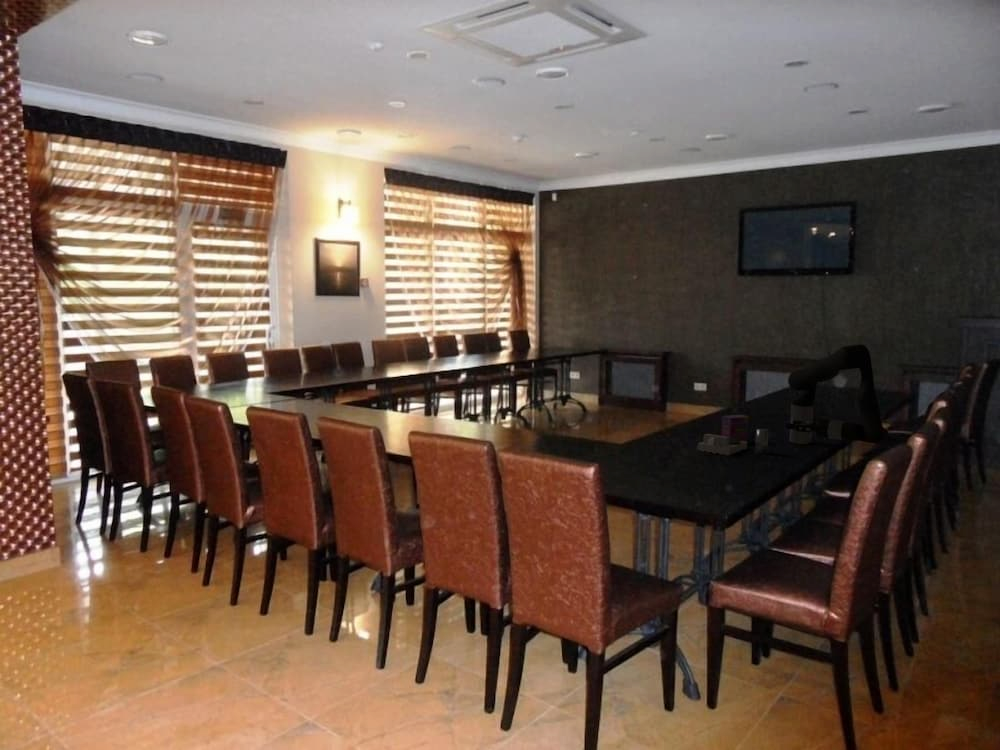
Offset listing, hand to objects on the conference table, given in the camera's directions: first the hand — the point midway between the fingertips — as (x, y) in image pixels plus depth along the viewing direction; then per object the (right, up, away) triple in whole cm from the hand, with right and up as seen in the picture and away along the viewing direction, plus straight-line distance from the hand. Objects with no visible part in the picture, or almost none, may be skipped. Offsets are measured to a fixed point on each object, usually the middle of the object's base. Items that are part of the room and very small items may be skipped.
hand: (789, 424), depth 296 cm
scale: (-23, -12, +15) cm, 30 cm away
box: (-13, -10, +32) cm, 36 cm away
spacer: (-9, -13, +9) cm, 18 cm away
